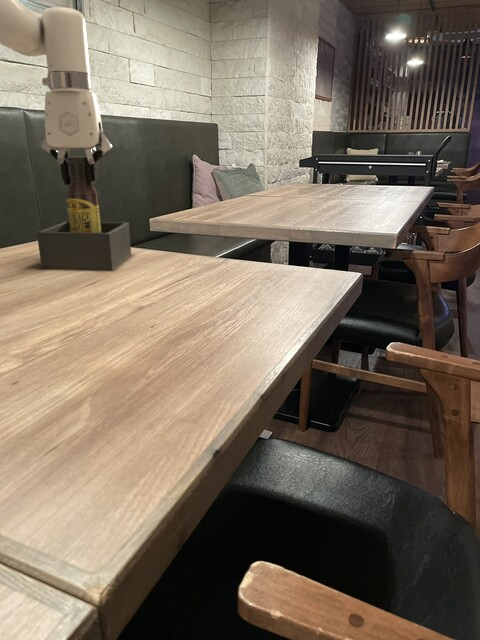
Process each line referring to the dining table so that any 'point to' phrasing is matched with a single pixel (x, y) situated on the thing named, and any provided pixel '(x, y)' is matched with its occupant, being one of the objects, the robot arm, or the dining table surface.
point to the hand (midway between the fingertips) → (80, 183)
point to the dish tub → (84, 247)
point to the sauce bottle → (82, 199)
